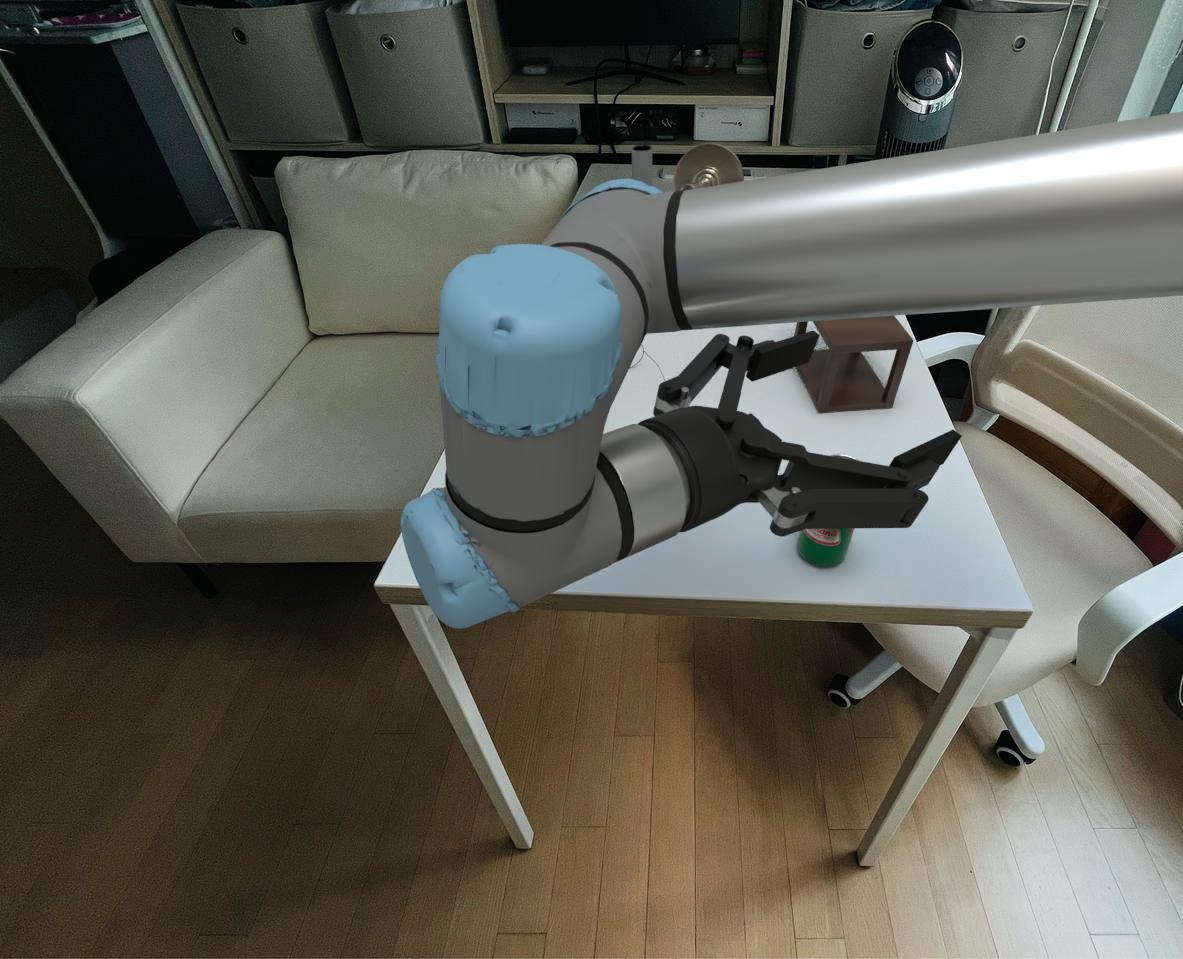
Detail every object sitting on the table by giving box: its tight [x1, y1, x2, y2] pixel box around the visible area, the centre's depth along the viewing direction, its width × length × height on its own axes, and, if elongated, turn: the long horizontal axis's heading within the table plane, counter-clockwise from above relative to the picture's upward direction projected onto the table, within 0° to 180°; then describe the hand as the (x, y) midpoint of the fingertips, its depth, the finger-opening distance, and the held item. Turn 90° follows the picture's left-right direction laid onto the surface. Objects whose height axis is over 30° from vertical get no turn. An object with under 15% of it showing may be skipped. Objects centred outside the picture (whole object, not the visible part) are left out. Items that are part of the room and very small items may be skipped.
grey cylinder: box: [631, 144, 653, 186], centre depth 148 cm, size 4×4×10 cm
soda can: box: [796, 453, 861, 567], centre depth 67 cm, size 5×5×12 cm
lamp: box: [672, 142, 745, 191], centre depth 121 cm, size 27×23×40 cm
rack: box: [793, 315, 915, 414], centre depth 90 cm, size 14×10×12 cm
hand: (874, 392), depth 51 cm, fingers open, 13 cm apart
